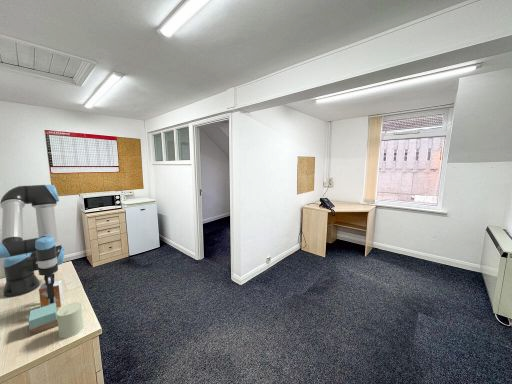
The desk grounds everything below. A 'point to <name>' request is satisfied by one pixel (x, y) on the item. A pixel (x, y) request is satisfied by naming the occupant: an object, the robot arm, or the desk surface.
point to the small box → (57, 293)
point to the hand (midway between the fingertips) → (52, 302)
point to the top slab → (42, 315)
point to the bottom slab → (43, 327)
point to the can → (70, 320)
